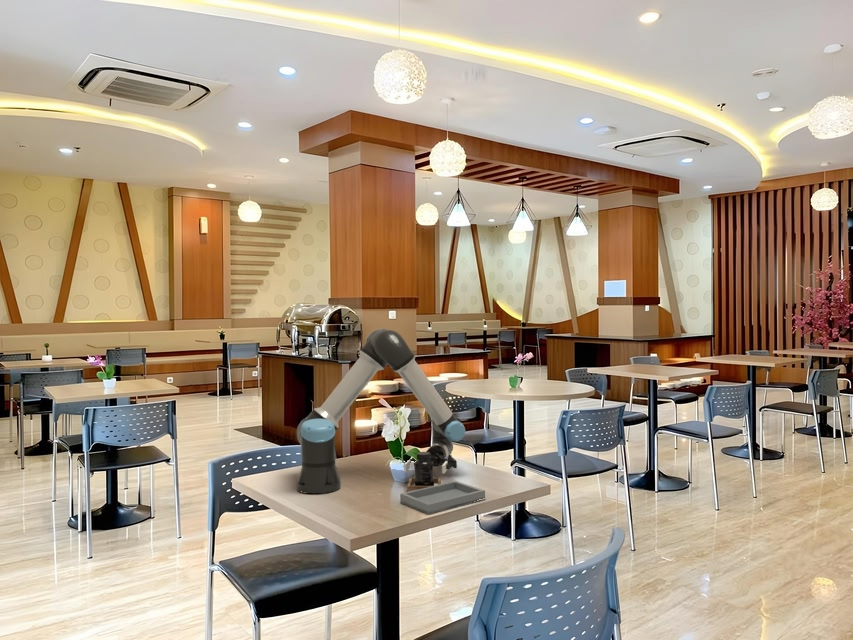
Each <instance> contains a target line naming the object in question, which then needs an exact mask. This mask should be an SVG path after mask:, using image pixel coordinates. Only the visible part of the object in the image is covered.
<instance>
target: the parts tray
mask: <svg viewBox="0 0 853 640" xmlns="http://www.w3.org/2000/svg"><path fill="white" fill-rule="evenodd" d="M399 495H400V504H401V505H402V504H403V505H404V506H407V507H409V508H412V509H414V510H416V511H417V512H418V511H419V512H421V513H424V514H425V513H426V514H425V515H428V514H429V515H433V514H436V513H441V512H443V511H444V512H445V511H449V510H451V509H455V508H458V506H460V507H462V506H461V505H463V506H466V505H465V504H467V505H469V504H468V503H471V502H474V501H477V500H479V499H483V498H485V499H486V490H484V489H481V488H478V487H475V486H473V485H469V484H467V483H464V482H460V481H457V480H454V481H450V482H445V483H441V484H440V485H436V484H435V485H434V486H431V487H427V488H423V489H418V490H414V491H410V492H407V491H406V492H401V493H400V494H399ZM471 504H472V503H471Z"/></svg>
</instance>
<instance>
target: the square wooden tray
mask: <svg viewBox="0 0 853 640" xmlns="http://www.w3.org/2000/svg"><path fill="white" fill-rule="evenodd" d="M441 479H442V478H441V477H434V484H437V485H440V484H442V482H441V481H442V480H441ZM407 483H408V484H407V485H406V487H407V488H406V490H407V491H406V492H410V491H414V490H418V489H423V488H427V487H431V486H415V477H409V480H408V482H407ZM413 484H414V485H413Z"/></svg>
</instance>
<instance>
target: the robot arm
mask: <svg viewBox="0 0 853 640" xmlns="http://www.w3.org/2000/svg"><path fill="white" fill-rule="evenodd" d="M415 359H416V356H415V354H414V352H413V351H412V349H411V347H409V344H408V343H407V342H406V341H405V339H404V337H403V336H402V335H401V334H400V333H399V332H398V331H395V330H392V329H388V328H387V329H386V328H380V329H376V330H375V331H373V332H371V333H370V334H369V335H368V336H367V338H366V341H365V343H364V345H363V346H362V347H361V349H360V350H359V358H358V359H357V360H356V361H355V363H354V364H353V365H352V366H351V368H350V369H349V370H348V371H347V373H345V375H344V377H343V378H342V379H341V380H340V382H339V383H338V384H337V386H336V387H335V388H334V389H333V391H331V394H329V396H328V397H327V398H326V400H325V401H324V402H323V403H322V405H321V406H320V407H316V408H313V410H311V412H310V413H309V414H308V415H307V416H306V417H305V418H303V419H302V420H301V421H300V423H299V424H298V426H297V428H296V439H297V441H298V443H299V444H300V446H301V449H300V450H301V469H300V473H299V475H298V478H297V479H298V480H297V483H296V487H297V489H298V490H299V491H302V492H306V493H323V494H326V493H325V492H329V493H331V492H330V491H333V492H335V491H334V490H336V491H338V490H340V489H341V488H342V481H341V478H340V475H339V471H338V468H337V466H336V437H335V436H336V432H337V430H338V429H339V427H340V426H339V421H340V420H341V419H342V417H343V416H344V415H345V413H346V412H347V411H348V410H349V408H350V407H351V406H352V404H353V403H354V402H355V401H356V400H357V398H358V396H359V395H360V394H361V393H362V391H363V390H364V389H365V388H366V386H367V385H368V384H369V383H370V381H371V380H372V379H373V377H375V375H376V374H377V372H378V371H384V370H385V368H386V367H387V366H389V367H390V368H391V370H392V371H393V372H395V373H398V374H399V376H400V377H401V379H402V380H403V381H404V383H406V386H408V388H409V390H410V391H411V392H412V393H413V395H414V397H415V398H416V399H417V400H418V402H419V403H420V405H421V406H422V407H423V409H424V410H425V411H426V413H427V414H428V415H429V417H430V419H431V428H432V429H431V431H432V435H431V436H432V437H431V438H432V439H431V442H432V443H431V446H430V447H429V448H428V449H427V450H426V451H425V452H430V453H431V459H430V460H432V461H433V463H434V468H436V467H440V466H441V474H445V473H446V472H447V470H450V469H452V468H453V469H457V468H458V463H457V462H458V461H457V460H456V459H455V458H454V457H453V456H452V452H453V449H454V444H453V442H459V441H461V440H463V438H464V437H465V436H466V435H465V434H466V427H465V426H464V424H463V423H462V422H461V421H459V420H458V419H457V417H456V416H455V415H454V413H453V412H452V410H451V409H450V407H449V406H448V404H446V401H444V399H443V397H442V396H441V395H440V394H439V392H438V391H437V389H436V388H435V387H434V385H433V384H432V383H431V381H430V379H429V378H428V377H427V375H426V374H425V373H424V371H423V370H422V368H421V367H420V366H419V364H418V362H416V360H415ZM411 461H414V462H415V461H416V460H415V459H414V458H412V459H409V460H407V462H404V466H403V473H407V471H409V470H410V469H411V468H410V463H411ZM340 487H341V488H340ZM339 488H340V489H339ZM337 489H338V490H337ZM298 490H297V491H298ZM299 491H298V492H299ZM306 493H305V494H306Z"/></svg>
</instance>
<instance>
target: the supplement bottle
mask: <svg viewBox="0 0 853 640" xmlns="http://www.w3.org/2000/svg"><path fill="white" fill-rule="evenodd" d="M416 454H417V459H418V460H417V461H416V462H415V463H414V466H413V468H414V471H413V473H414V478H415V484H414V486H435V483H434V478H435V474H434V473H435V467H434V463H433V461H432V460H430V459H431V453H430V452H426V451H419V452H417V453H416Z"/></svg>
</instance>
